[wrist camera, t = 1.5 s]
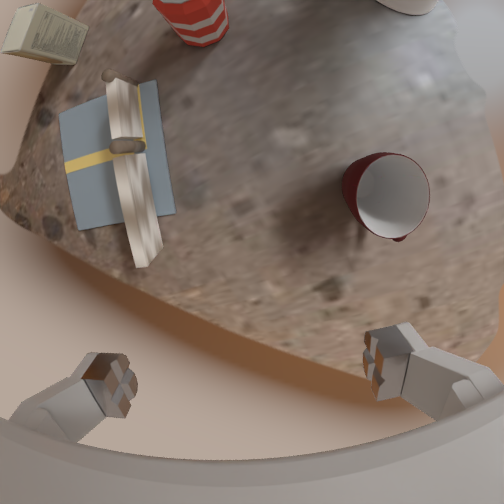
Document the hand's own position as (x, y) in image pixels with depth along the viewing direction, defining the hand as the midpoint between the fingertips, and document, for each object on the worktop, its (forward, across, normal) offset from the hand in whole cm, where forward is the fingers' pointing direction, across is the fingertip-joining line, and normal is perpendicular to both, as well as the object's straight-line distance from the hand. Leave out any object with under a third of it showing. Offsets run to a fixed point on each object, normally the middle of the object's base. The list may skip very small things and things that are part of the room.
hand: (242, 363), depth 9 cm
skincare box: (+27, +22, -28) cm, 45 cm away
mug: (+28, -14, -1) cm, 31 cm away
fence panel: (+27, +12, -3) cm, 30 cm away
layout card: (+27, +17, -10) cm, 33 cm away
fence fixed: (+27, +12, -14) cm, 33 cm away
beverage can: (+27, +3, -24) cm, 36 cm away
